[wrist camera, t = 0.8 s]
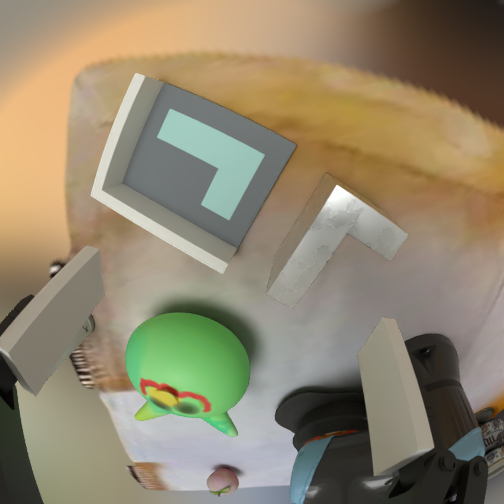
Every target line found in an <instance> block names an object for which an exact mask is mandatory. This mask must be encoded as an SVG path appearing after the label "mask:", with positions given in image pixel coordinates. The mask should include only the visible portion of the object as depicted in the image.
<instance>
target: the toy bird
mask: <svg viewBox="0 0 504 504" xmlns="http://www.w3.org/2000/svg"><path fill="white" fill-rule="evenodd" d="M125 362H126V369H127V373H128V376H129V378H130V380H131V382H132V384H133V385H134V387H135V388H136V390H137V391H138V392H139V393H140V394H141V395H142V396H143V397H144V398H145V399H146V400H147V402H146V403H145V404H144V406H143V407H142V408H141V409H140V410H139V411H138V412H137V413H136V415H135V419H136V420H138V421H144V420H149V419H153V418H156V417H160V416H163V415H167V414H171V413H172V414H175V415H178V416H183V417H190V418H201V419H203V420H204V421H206V422H207V423H209V424H210V425H212V426H213V427H215V428H216V429H218V430H219V431H221V432H223V433H225V434H226V435H229V436H231V437H236V436H238V431H237V429H236V427H235V425H234V424H233V422H232V420H231V419H230V417H229V415H228V413H227V411H228V410H229V409H231V408H232V407H234V406H235V405H236V404H237V403H238V402H239V401H240V400H241V398H242V397H243V395H244V394H245V392H246V389H247V387H248V384H249V379H250V363H249V359H248V355H247V353H246V350H245V348H244V347H243V345H242V343H241V342H240V341H239V339H238V338H237V337H236V336H235V335H234V334H233V333H232V332H231V331H230V330H229V329H227V328H226V327H224V326H223V325H221V324H220V323H218V322H216V321H214V320H211V319H209V318H206V317H203V316H200V315H196V314H191V313H166V314H161V315H158V316H155V317H152V318H150V319H148V320H146V321H145V322H143V323H142V324H141V325H140V326H138V327H137V328H136V330H135V331H134V332H133V333H132V335H131V337H130V339H129V341H128V344H127V348H126V354H125Z"/></svg>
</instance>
